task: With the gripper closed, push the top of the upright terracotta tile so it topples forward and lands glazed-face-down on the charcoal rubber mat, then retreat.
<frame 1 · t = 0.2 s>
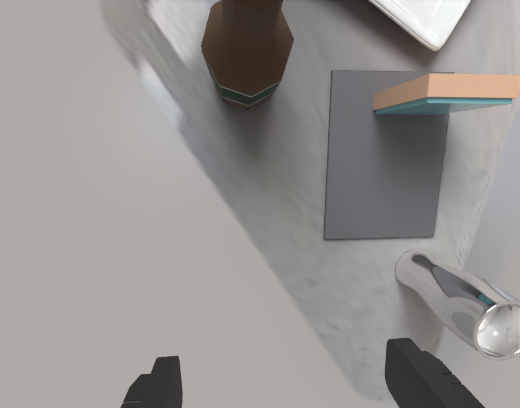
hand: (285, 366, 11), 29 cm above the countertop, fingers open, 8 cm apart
beer glass: (413, 267, 43), on the countertop
mat: (385, 159, 39), on the countertop
tile: (406, 104, 38), resting on mat
beer bottle: (244, 78, 36), on the countertop
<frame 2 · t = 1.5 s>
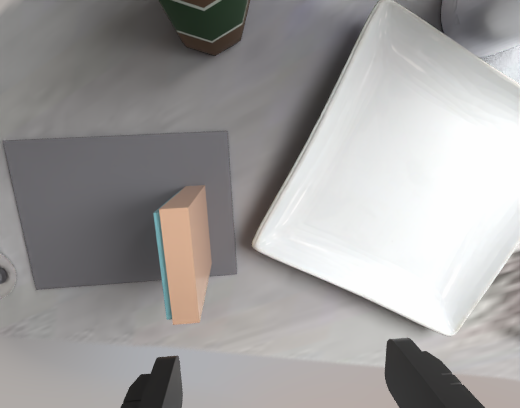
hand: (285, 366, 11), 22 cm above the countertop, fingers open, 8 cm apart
mat: (130, 211, 31), on the countertop
tile: (196, 226, 32), resting on mat
square plate: (403, 185, 34), on the countertop
beer bottle: (209, 15, 28), on the countertop
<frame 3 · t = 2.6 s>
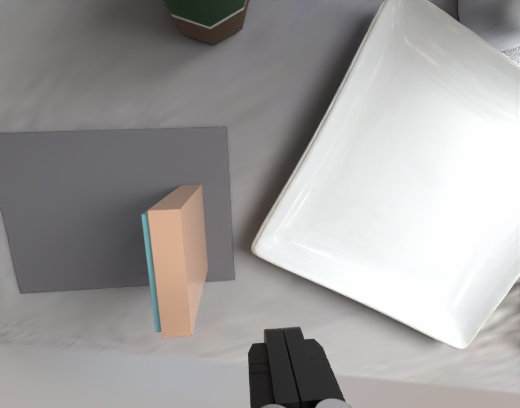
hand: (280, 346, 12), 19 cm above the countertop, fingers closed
mat: (121, 211, 29), on the countertop
tile: (192, 228, 30), resting on mat
square plate: (413, 187, 32), on the countertop
beer bottle: (208, 1, 26), on the countertop
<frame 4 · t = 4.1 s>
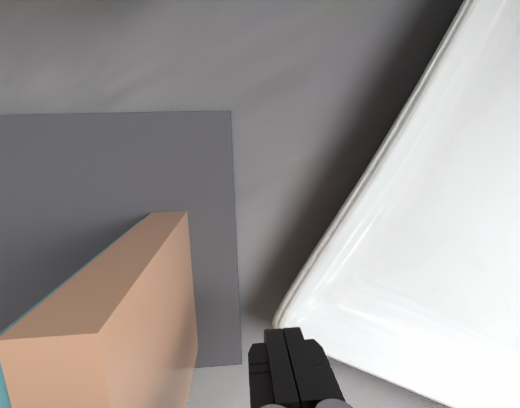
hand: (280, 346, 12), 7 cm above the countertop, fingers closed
mat: (50, 256, 17), on the countertop
tile: (172, 284, 18), resting on mat
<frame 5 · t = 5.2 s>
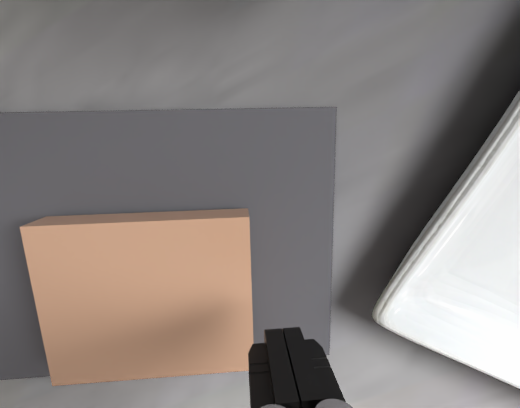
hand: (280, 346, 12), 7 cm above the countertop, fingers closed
mat: (153, 248, 18), on the countertop
tile: (251, 286, 17), point 2 cm above the countertop, tilted 90°, touching mat
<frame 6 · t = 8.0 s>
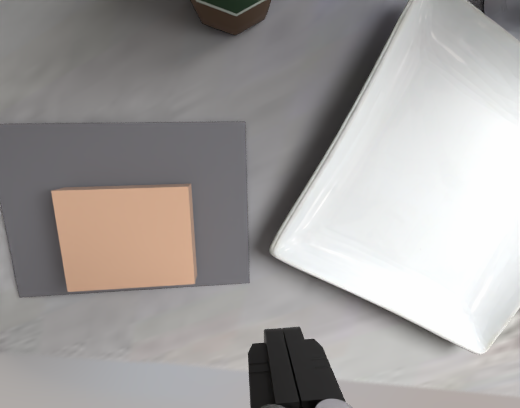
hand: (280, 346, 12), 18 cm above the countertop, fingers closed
mat: (131, 210, 28), on the countertop
tile: (193, 232, 27), point 2 cm above the countertop, tilted 90°, touching mat
square plate: (433, 188, 31), on the countertop
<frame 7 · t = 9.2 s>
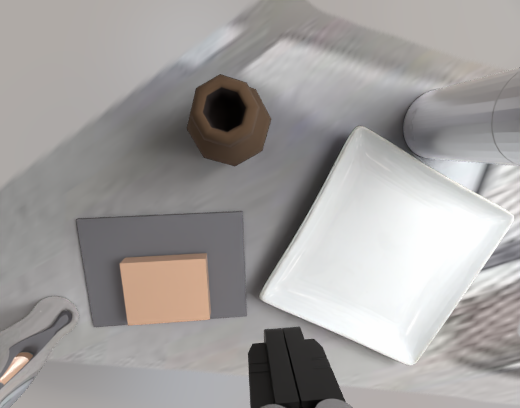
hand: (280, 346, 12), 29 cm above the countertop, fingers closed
beer glass: (57, 314, 42), on the countertop
mat: (167, 269, 41), on the countertop
tile: (208, 285, 40), point 2 cm above the countertop, tilted 90°, touching mat
square plate: (376, 249, 44), on the countertop
beer bottle: (231, 130, 38), on the countertop
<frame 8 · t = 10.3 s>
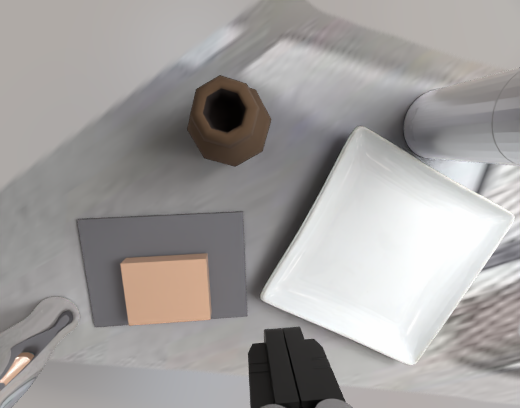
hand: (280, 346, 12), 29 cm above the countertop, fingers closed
beer glass: (59, 314, 42), on the countertop
mat: (168, 269, 41), on the countertop
tile: (209, 285, 41), point 2 cm above the countertop, tilted 90°, touching mat
square plate: (376, 249, 44), on the countertop
beer bottle: (231, 130, 38), on the countertop
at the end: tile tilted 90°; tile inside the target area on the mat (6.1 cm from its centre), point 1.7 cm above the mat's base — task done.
